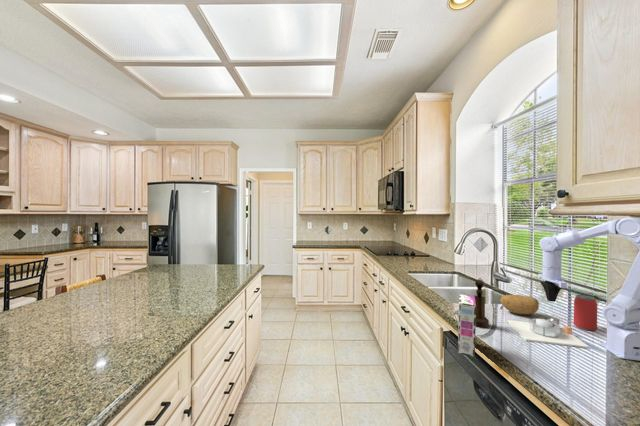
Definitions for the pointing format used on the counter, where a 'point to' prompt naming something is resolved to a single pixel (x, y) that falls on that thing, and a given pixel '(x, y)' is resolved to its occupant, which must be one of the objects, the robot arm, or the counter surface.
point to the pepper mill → (480, 306)
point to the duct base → (563, 339)
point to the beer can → (585, 312)
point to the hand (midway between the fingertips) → (551, 300)
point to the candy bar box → (467, 325)
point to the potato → (520, 304)
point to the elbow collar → (545, 327)
